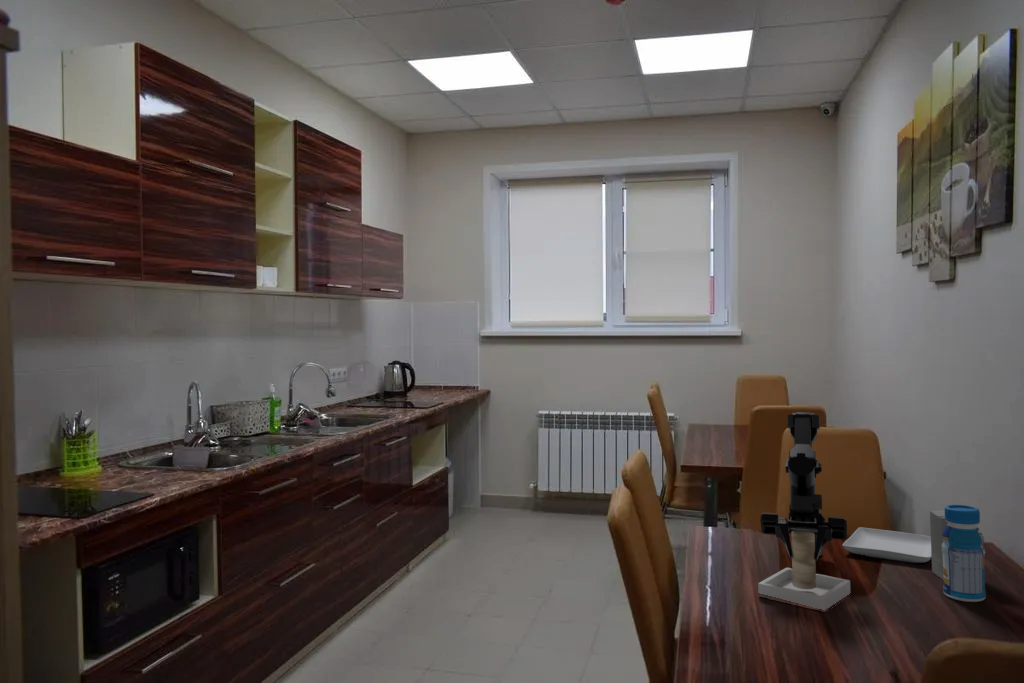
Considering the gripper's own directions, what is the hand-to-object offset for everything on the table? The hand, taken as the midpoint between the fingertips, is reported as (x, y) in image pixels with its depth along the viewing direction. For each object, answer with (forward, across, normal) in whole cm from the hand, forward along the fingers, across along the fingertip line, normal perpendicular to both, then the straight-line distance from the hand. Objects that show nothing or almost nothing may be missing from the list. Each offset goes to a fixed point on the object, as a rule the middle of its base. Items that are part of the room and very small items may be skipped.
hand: (803, 558), depth 167 cm
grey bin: (+5, 0, +7) cm, 9 cm away
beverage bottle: (-2, +33, +15) cm, 36 cm away
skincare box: (-11, +34, +24) cm, 43 cm away
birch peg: (+4, 0, +6) cm, 7 cm away
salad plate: (-24, +22, +38) cm, 50 cm away
